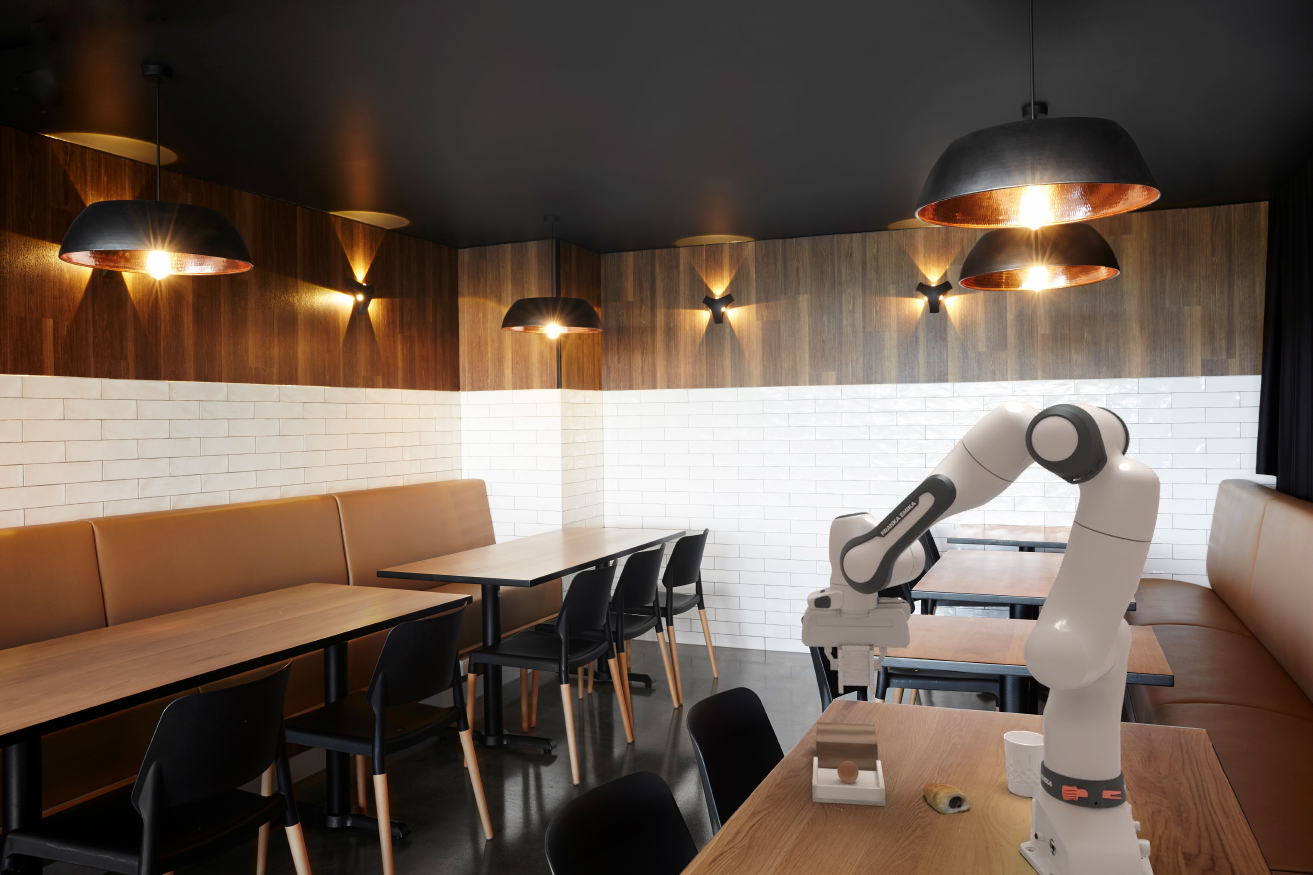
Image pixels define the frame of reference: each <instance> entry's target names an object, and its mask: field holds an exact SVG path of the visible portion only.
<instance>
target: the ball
mask: <svg viewBox="0 0 1313 875" xmlns="http://www.w3.org/2000/svg"><path fill="white" fill-rule="evenodd" d="M837 773H838V776H839V778H840V779H841V780H842V781H843V782H846V783H852V782H854V781H855V780H856V779H857V778H858V774H859V771H858V768H857V766H856V765H855V764H854V763H853V762H851V761H843V762H842V763H840V764H839V766H838V769H837Z"/></svg>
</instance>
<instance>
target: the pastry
mask: <svg viewBox="0 0 1313 875" xmlns="http://www.w3.org/2000/svg"><path fill="white" fill-rule="evenodd" d="M922 789H923V790H922V791H923V794H924V796H925V799H926V800H927V803H928V804H929V805H930V806H931V807H932V808H933V809H934V810H936V811H937V812H939V813H940V814H946V815H947V814H949V815H950V814H955V813H958V812H964V811H967V810H968V809H969V808H970V807H971V800H970V798H969V796H968V795H967V794H966V793H965V792H964V791H962V790H961V789H959V788H958V786H956V785H951V784H948V783H942V782H941V783H940V782H938V783H937V782H929V783H926V784H925V786H923V788H922Z"/></svg>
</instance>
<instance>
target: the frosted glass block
mask: <svg viewBox="0 0 1313 875" xmlns="http://www.w3.org/2000/svg"><path fill="white" fill-rule="evenodd" d="M837 659H838V670H837V672H838V673H837V676H838V681H837V682H838V693H839V694H844V686H859V687H861V686H862V687H863V686H865V687H869V691H870V692H869V693H870V695H876V685H875V683H876V681H875V671H874V660H875V647H874V645H870V644H838V647H837Z"/></svg>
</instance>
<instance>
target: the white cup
mask: <svg viewBox="0 0 1313 875" xmlns="http://www.w3.org/2000/svg"><path fill="white" fill-rule="evenodd" d="M1003 745H1004V761H1005V772H1006V775H1007V776H1006V779H1007V780H1006V782H1007V789H1008V791H1009V792H1010V793H1012V794H1013V795H1017V796H1019V797H1023V798H1029V797H1032V799H1033V798H1034V797H1035V796H1037V795H1038V793H1039V792H1040V791H1041V789H1042V785H1041V776H1040V769H1041V762H1042V761H1043V760H1044V748H1043V734H1042V733H1037V732H1034V731H1028V730H1027V731H1026V730H1013V731H1007V732H1006V733H1004V734H1003Z"/></svg>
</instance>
